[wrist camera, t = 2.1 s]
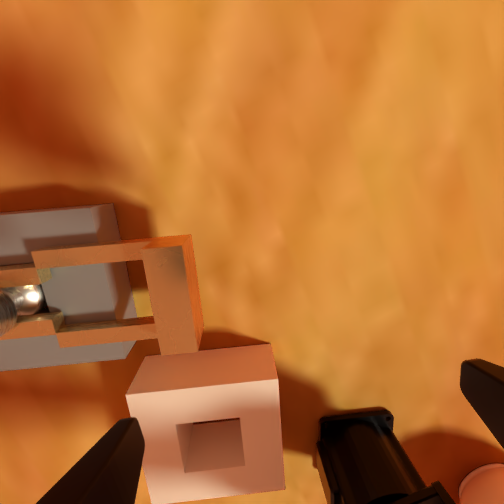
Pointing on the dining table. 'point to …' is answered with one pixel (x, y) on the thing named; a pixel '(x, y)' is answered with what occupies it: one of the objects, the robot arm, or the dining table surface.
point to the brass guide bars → (157, 326)
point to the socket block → (67, 282)
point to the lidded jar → (483, 485)
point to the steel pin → (19, 304)
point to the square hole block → (209, 434)
